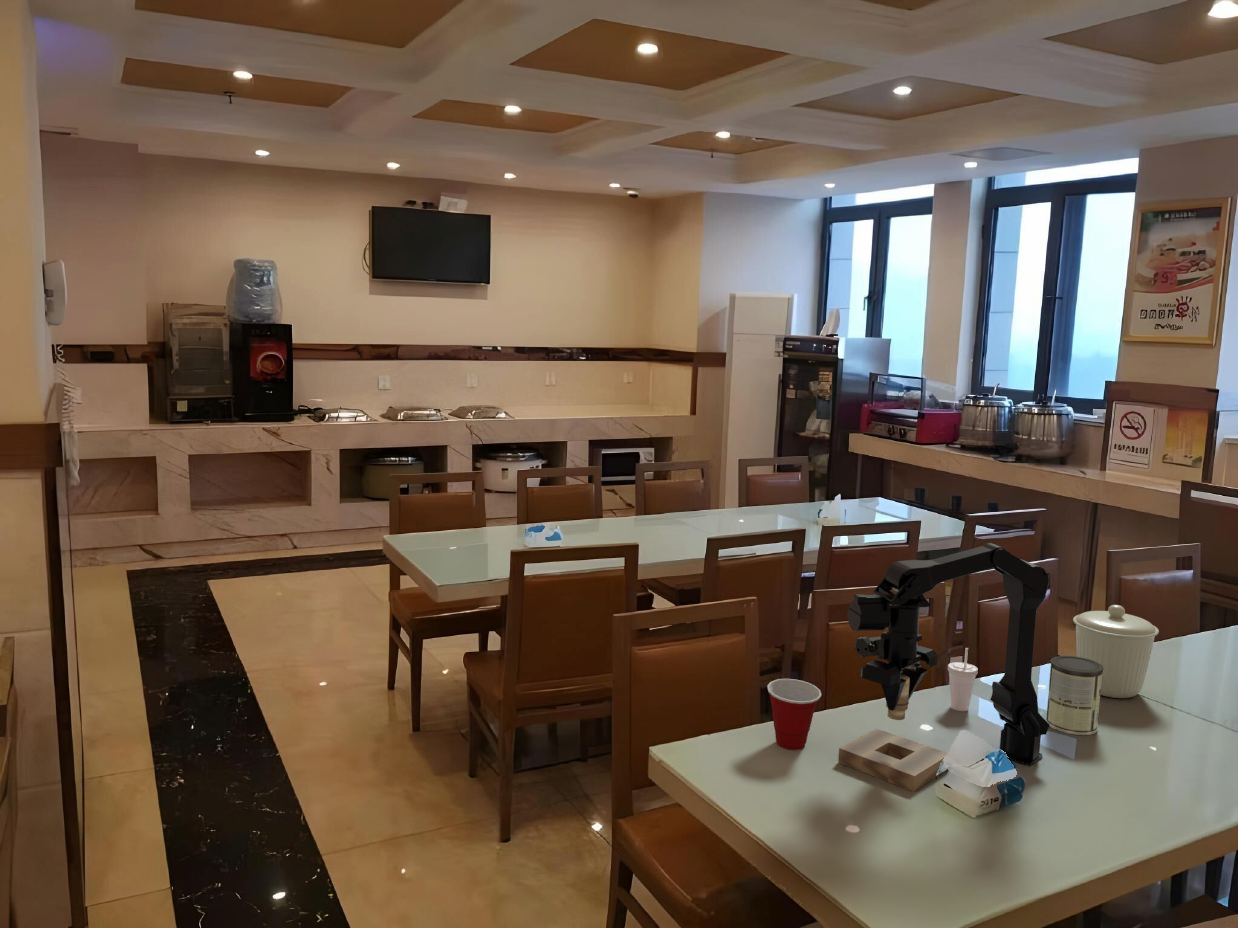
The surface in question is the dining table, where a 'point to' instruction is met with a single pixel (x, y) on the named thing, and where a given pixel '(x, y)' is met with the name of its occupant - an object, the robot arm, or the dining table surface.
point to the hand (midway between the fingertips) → (897, 706)
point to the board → (892, 759)
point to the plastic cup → (792, 711)
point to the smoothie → (961, 683)
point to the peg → (901, 702)
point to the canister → (1116, 648)
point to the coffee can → (1074, 695)
